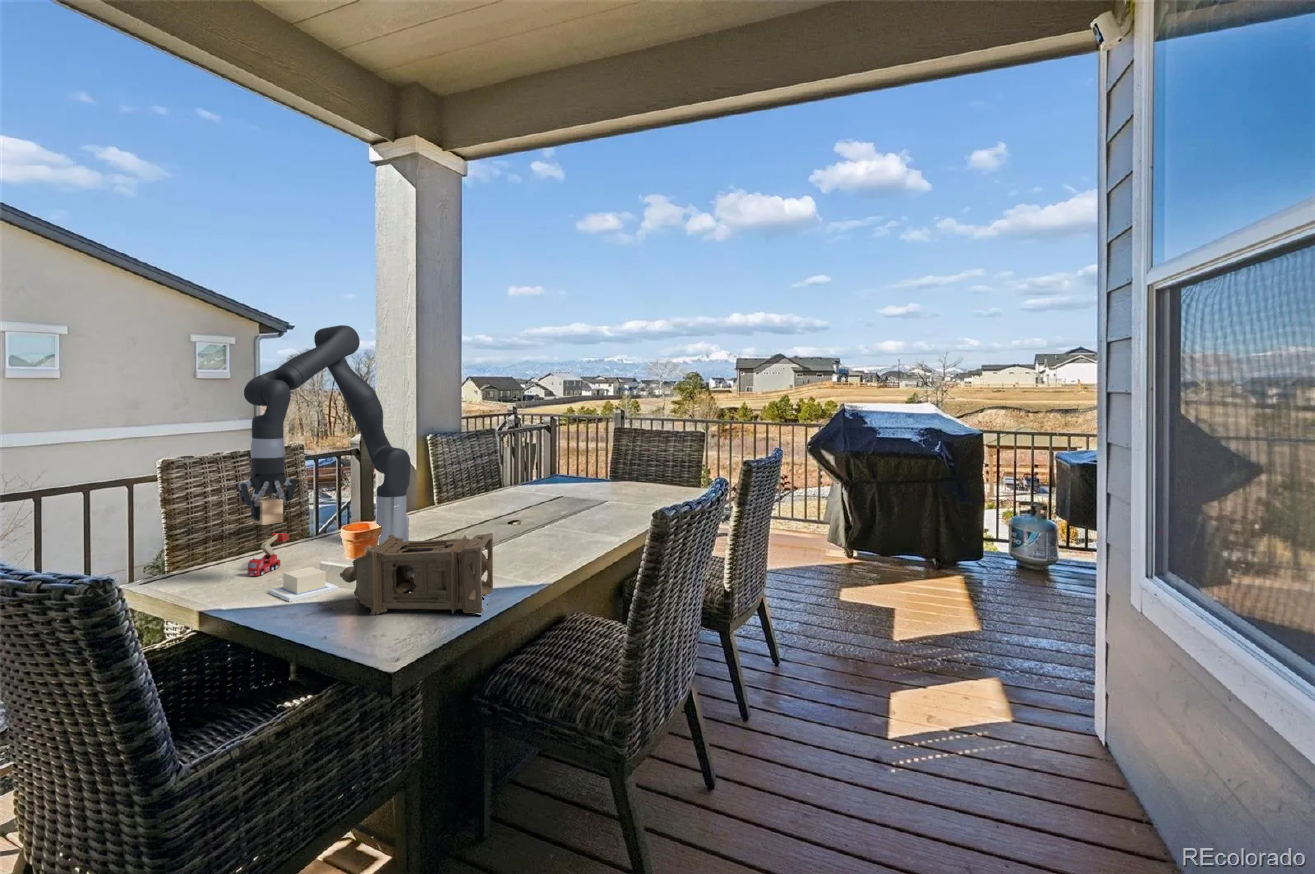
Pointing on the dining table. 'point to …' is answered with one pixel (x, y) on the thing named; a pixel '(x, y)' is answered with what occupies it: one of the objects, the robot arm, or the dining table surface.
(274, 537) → the toy fire truck
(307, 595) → the board
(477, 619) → the dining table surface
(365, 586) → the brown stone lantern
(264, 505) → the oak block
